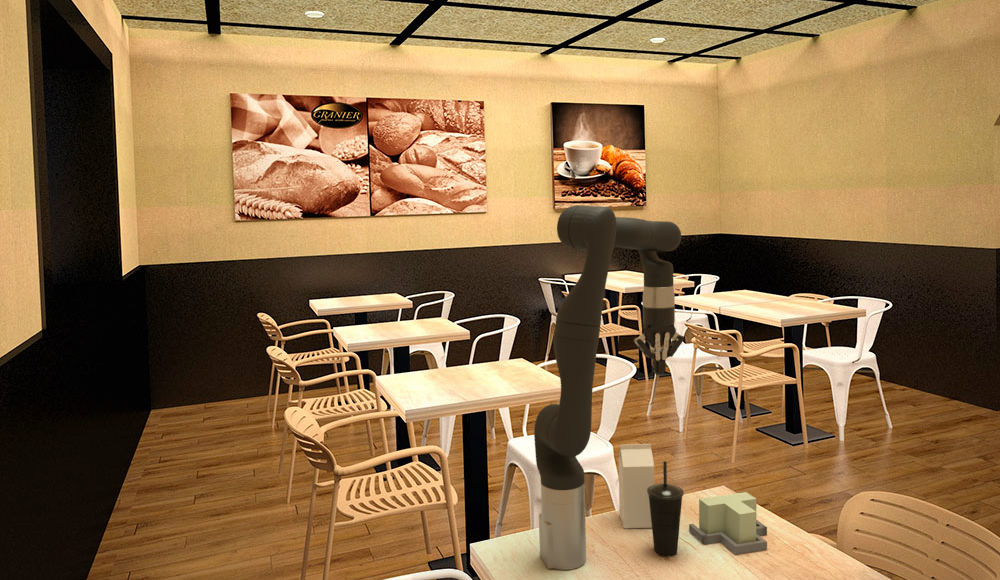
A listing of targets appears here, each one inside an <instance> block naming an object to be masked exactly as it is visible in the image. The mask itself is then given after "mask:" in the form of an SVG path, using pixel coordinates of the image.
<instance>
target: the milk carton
mask: <svg viewBox="0 0 1000 580" xmlns="http://www.w3.org/2000/svg"><path fill="white" fill-rule="evenodd" d="M619 447H620V450H619V453H618V490H619V491H618V493H619V495H618V498H619V499H618V502H619V503H618V505H619V518H620V520H621V523H622V526H623V529H652V523H651V513H650V504H649V495H648V493H647V489H648V487H650V486H652V485H655V462H654V457H653V452H652V444H651V443H637V444H636V443H634V444H630V443H629V444H628V443H627V444H620V446H619Z"/></svg>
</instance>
